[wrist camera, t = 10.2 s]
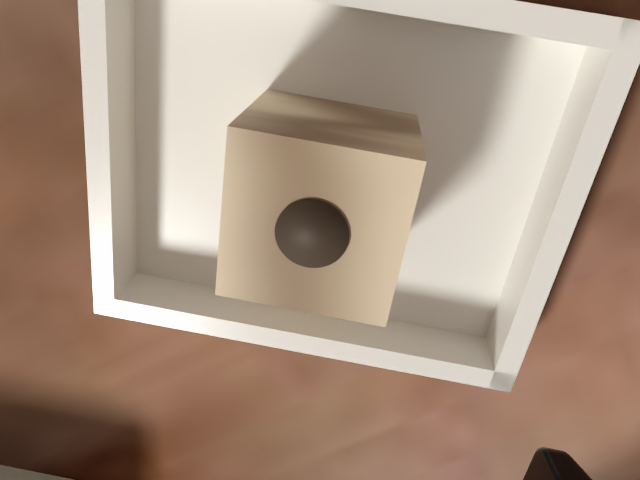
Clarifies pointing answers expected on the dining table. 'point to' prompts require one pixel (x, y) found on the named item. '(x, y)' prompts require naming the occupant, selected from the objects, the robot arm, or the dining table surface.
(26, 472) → the sage block
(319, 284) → the maple block
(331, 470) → the dining table surface
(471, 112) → the tray
